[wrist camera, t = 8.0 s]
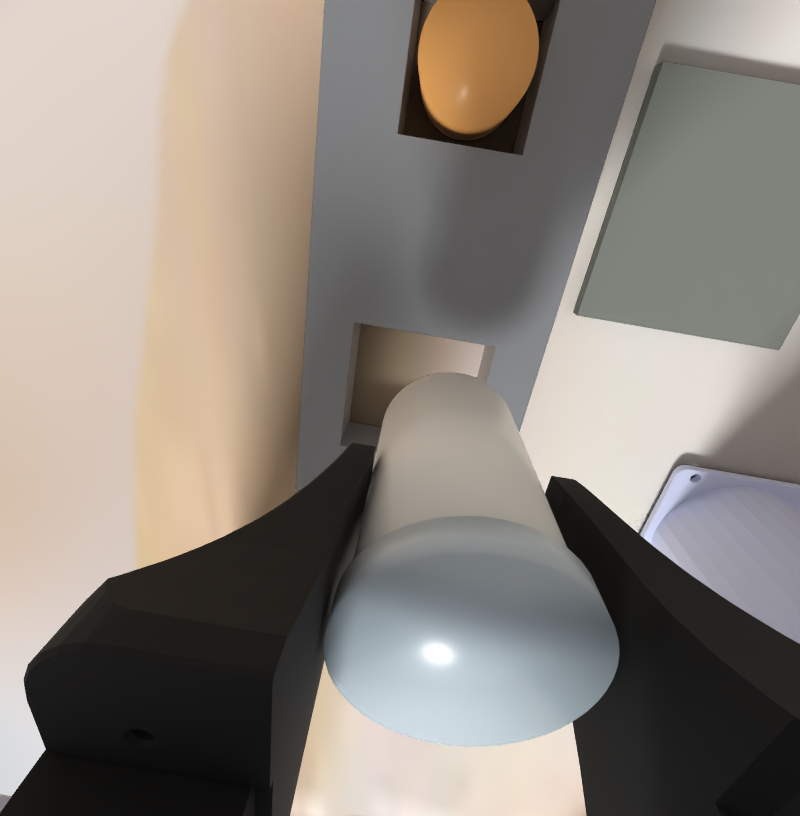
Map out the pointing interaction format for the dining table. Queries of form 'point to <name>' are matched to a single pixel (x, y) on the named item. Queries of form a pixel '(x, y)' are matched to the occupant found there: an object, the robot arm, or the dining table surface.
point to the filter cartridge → (464, 583)
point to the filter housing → (449, 205)
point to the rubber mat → (705, 212)
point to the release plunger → (476, 63)
